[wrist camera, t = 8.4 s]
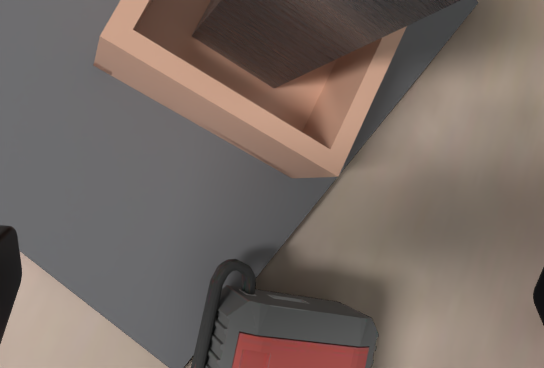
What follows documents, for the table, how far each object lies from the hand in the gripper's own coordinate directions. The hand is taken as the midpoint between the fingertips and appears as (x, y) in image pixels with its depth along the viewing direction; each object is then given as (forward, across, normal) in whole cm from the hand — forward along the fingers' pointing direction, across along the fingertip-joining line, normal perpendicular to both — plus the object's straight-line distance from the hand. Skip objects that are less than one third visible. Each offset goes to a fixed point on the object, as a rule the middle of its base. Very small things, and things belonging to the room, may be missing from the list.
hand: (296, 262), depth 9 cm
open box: (+15, 0, -1) cm, 15 cm away
